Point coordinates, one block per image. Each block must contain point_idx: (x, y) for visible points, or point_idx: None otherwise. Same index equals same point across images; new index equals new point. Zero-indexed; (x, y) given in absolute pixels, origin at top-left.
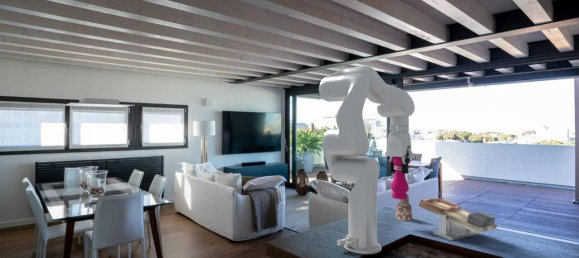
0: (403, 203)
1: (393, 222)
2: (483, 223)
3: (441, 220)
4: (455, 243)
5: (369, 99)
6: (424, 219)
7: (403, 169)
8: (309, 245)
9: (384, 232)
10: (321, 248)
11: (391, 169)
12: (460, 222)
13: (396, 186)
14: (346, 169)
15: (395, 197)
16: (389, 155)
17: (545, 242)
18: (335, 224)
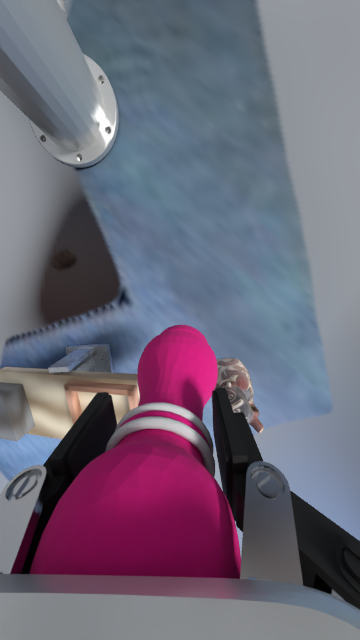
0: (226, 389)
1: (215, 332)
2: None
3: (70, 360)
4: (53, 338)
5: None
6: (203, 409)
7: (83, 419)
8: None
9: (158, 255)
10: None
11: (216, 401)
12: (27, 372)
13: (158, 339)
14: None
15: (173, 326)
16: (266, 598)
17: (25, 462)
18: (275, 167)
